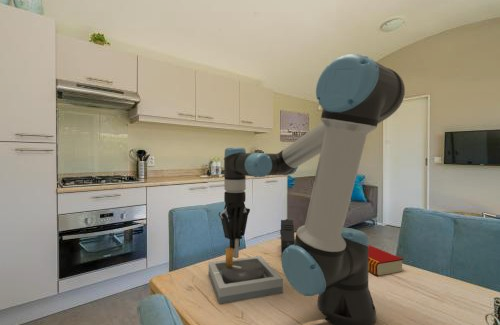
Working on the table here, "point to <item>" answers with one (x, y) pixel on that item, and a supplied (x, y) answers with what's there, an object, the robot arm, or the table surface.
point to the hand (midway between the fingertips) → (234, 256)
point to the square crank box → (245, 282)
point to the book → (383, 262)
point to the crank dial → (240, 269)
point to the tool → (286, 234)
